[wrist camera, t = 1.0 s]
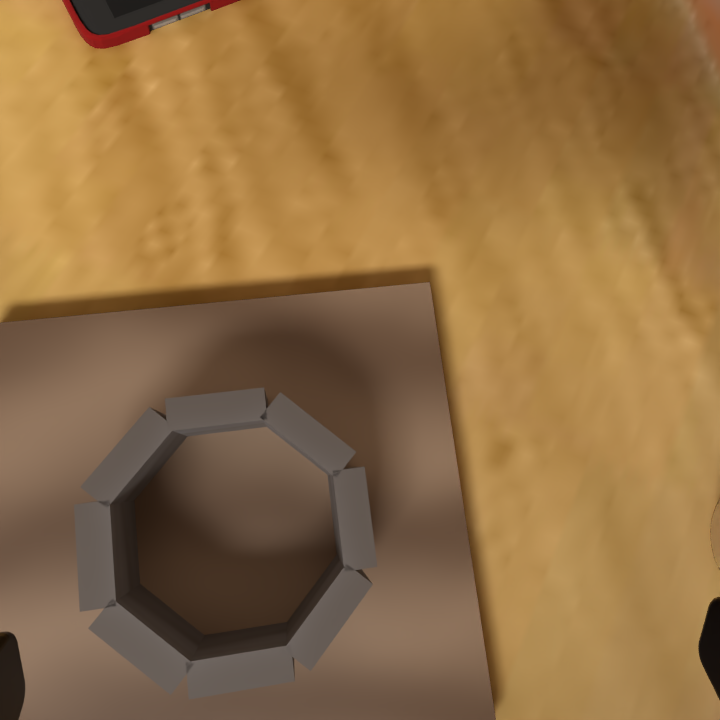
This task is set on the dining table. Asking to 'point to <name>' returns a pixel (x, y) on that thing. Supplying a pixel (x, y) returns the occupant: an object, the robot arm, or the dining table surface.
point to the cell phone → (130, 17)
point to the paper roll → (716, 534)
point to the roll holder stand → (237, 514)
